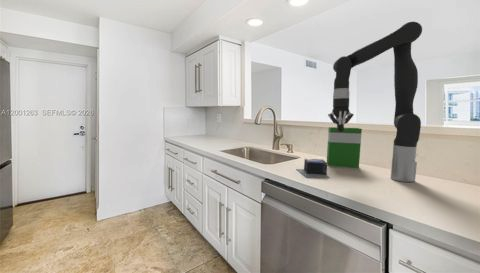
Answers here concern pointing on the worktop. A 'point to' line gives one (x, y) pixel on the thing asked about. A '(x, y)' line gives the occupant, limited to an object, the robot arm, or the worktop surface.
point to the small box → (315, 166)
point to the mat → (312, 174)
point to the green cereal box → (344, 147)
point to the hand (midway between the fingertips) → (340, 131)
